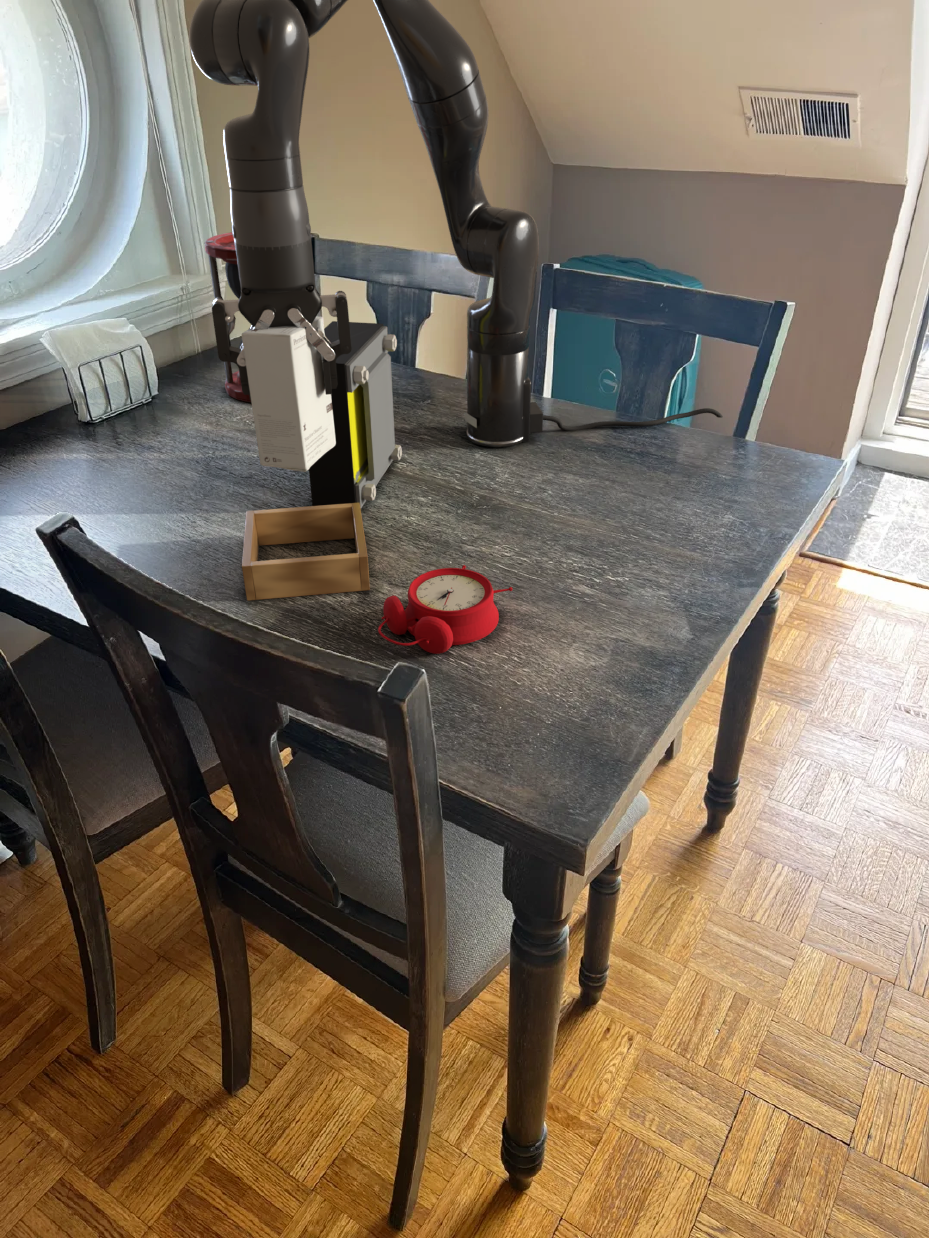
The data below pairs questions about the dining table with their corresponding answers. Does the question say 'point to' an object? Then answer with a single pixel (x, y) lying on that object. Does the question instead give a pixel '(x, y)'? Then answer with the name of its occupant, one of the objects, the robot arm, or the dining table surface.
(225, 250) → the hourglass
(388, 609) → the alarm clock
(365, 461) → the electrical component
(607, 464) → the dining table surface
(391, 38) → the robot arm
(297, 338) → the cosmetic box
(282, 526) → the wooden frame
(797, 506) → the dining table surface
